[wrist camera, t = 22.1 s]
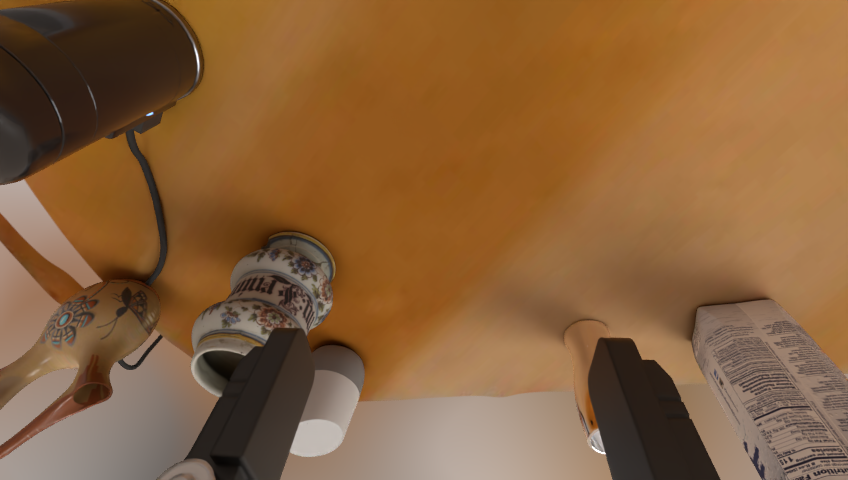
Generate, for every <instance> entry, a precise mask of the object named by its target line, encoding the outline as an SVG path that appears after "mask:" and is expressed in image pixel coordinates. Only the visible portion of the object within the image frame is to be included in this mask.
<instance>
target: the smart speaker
mask: <svg viewBox="0 0 848 480" xmlns="http://www.w3.org/2000/svg"><path fill="white" fill-rule="evenodd" d="M312 356H313V359H314V363H315V378H314V382H313V386H312V389H311V392H310V394H309V397H308V400H307V403H306V406H305V409H304V412H303V414H302V417H301V420H300V423H299V426H298V429H297V432H296V435H295V437H294V440H293V443H292V446H291V449H290V452H291V453H293V454H295V455H298V456H305V457H313V456H320V455H324V454H327V453H329V452H331V451H333V450H334V449H336V448H337V447H338V446H339V445H340V444H341V442H342V441H343V438H344V436H345V433H346V430H347V427H348V425H349V422H350V420H351V418H352V415H353V412H354V410H355V407H356V405H357V402H358V399H359V396H360V393H361V390H362V387H363V382H364V365H363V362H362V360H361V358H360V357H359V356H358V355H357V354H356V353H355V352H354V351H352V350H350V349H349V348H346V347H343V346H339V345H326V346H322V347H320V348H318V349H316V350H315V351H314V352H313V353H312Z"/></svg>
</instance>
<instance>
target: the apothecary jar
mask: <svg viewBox="0 0 848 480" xmlns="http://www.w3.org/2000/svg"><path fill="white" fill-rule="evenodd" d="M268 239H269V240H268V243H267V245H266V246H263V247H261V250H258V251H255V252H252V253H250V254H248V255H246V256H245V257H243V258H242V259H241V260H240V261H239V262H238V263H237V264H236V266H235V268H234V269H233V272H232V275H231V282H230V284H231V294H230V295H229V297H228V298H227V299H226V301H222V302H219V303H216V304H214V305H212V306H210V307H209V308H207V309H206V310H205V311H203V312H202V313H201V314H200V315H199V317H198V318H197V320H196V321H195V324H194V326H193V330H192V345H193V349H194V351H195V353H194V355H193V358H192V361H191V371H192V374H193V376H194V378H195V380H196V381H197V382H198V383H199V384H200V385H201V386H202V387H203V388H204V389H206V390H207V391H208V392H210V393H212V394H214V395H215V396H218V397H220V396H222V392H223V390H224V389H225V387H226V385H227V383H228V382H230V378H231V376H232V374H233V372H234V370H235V368H236V367H237V365H238V363H239V361H240V360H241V359H242V358H243V357H244V356H245V355H246V354H247V353H248V352H249V351H250V350H252V349H253V348H254V347H255V346H264V345H265V343H266V341H267V339H268V337H269V335H270V333H271V332H272V330H273V329H274V328H276V327H280V328H303V329H304V331H305V333H306V336H307V335H308V333H309V331H310V329H313V328H314V327H316V326H318V325H319V324H320V323H322V322H323V321H324V319H325V318H326V317H327V316H328V314H329V312H330V310H331V307H332V302H333V292H332V287H331V284H330V283H331V282H332V280H333V278H334V276H335V269H336V268H335V262H334V259H333V257H332V255H331V253H330V252H329V251H328V249H327V248H326V247H325V246H324V245H323V244H321V243H320V242H319V241H317V240H316V239H314V238H312V237H310V236H308V235H305V234H302V233H297V232H281V233H277V234H274V235H272V236H270V237H269V238H268Z"/></svg>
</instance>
